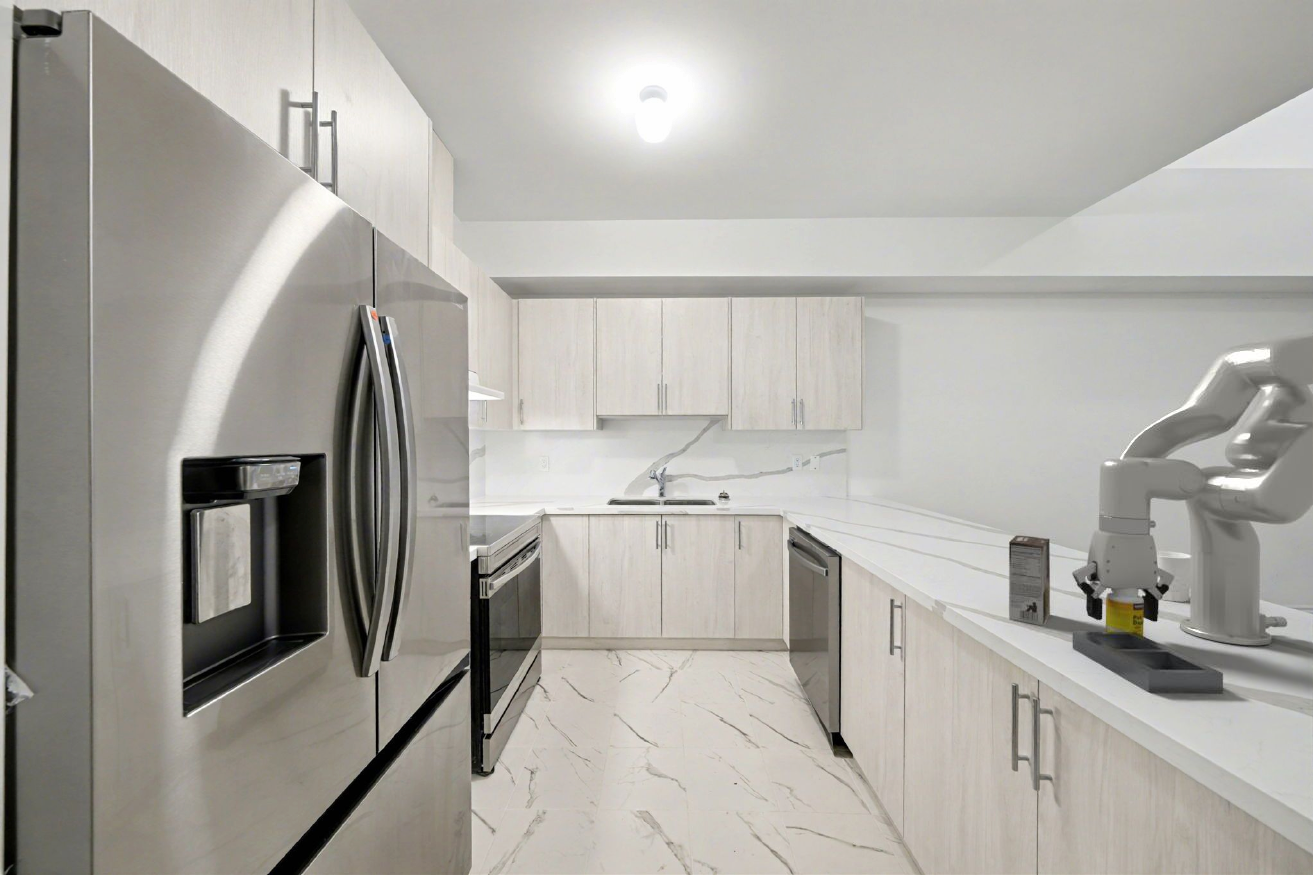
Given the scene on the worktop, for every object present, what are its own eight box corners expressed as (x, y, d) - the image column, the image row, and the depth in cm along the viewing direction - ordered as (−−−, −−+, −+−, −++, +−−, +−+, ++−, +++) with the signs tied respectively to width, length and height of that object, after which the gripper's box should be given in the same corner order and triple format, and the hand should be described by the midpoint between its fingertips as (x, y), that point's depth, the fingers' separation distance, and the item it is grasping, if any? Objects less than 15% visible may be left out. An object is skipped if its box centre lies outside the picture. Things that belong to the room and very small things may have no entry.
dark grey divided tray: (1072, 648, 108) (1072, 631, 108) (1134, 648, 108) (1134, 632, 108) (1148, 692, 90) (1148, 672, 90) (1222, 693, 90) (1222, 673, 90)
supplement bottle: (1136, 646, 109) (1136, 589, 109) (1100, 638, 113) (1100, 583, 113) (1148, 640, 112) (1148, 585, 112) (1113, 632, 116) (1113, 579, 116)
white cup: (1138, 595, 141) (1139, 552, 141) (1162, 592, 144) (1163, 549, 144) (1176, 604, 134) (1176, 559, 134) (1201, 600, 136) (1201, 556, 136)
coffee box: (1015, 609, 132) (1015, 534, 131) (1050, 614, 128) (1050, 537, 127) (1007, 619, 125) (1007, 541, 124) (1044, 625, 121) (1044, 544, 120)
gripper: (1157, 524, 115) (1155, 613, 116) (1062, 522, 116) (1060, 611, 117) (1189, 530, 108) (1187, 626, 108) (1088, 528, 109) (1086, 623, 109)
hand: (1121, 618), depth 112 cm, fingers open, 9 cm apart
